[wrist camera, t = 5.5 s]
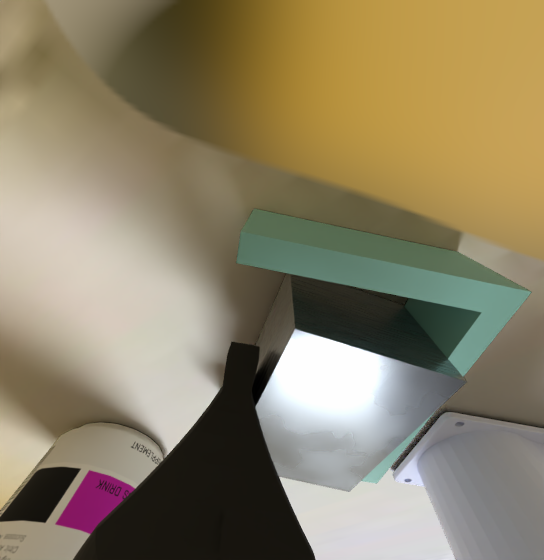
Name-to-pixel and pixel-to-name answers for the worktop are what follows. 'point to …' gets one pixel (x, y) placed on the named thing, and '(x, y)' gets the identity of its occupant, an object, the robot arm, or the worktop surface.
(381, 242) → the dock
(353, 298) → the block
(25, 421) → the worktop surface
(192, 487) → the robot arm
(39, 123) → the worktop surface
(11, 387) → the worktop surface
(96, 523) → the supplement can
